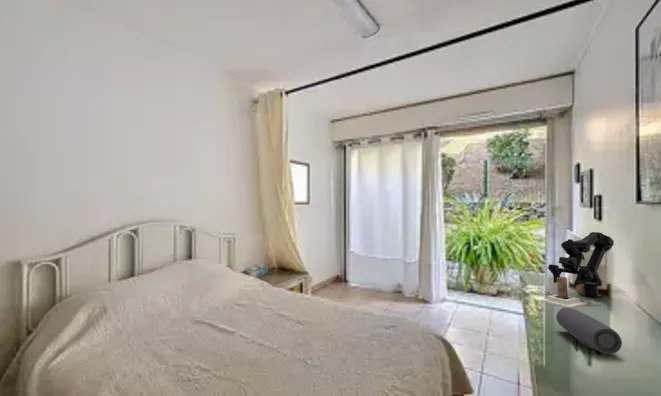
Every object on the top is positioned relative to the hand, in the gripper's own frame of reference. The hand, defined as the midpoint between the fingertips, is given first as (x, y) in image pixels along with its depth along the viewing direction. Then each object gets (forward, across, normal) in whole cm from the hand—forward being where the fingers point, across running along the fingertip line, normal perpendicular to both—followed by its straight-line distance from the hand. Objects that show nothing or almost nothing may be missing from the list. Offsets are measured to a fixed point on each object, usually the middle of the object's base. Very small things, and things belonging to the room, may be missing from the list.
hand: (564, 284), depth 158 cm
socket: (+8, 0, +5) cm, 9 cm away
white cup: (-2, -11, +16) cm, 20 cm away
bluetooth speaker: (+40, +31, -27) cm, 57 cm away
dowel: (+8, 0, +5) cm, 9 cm away
